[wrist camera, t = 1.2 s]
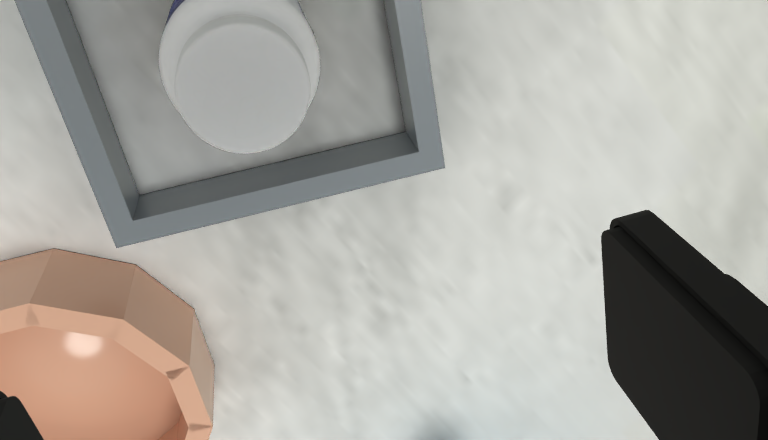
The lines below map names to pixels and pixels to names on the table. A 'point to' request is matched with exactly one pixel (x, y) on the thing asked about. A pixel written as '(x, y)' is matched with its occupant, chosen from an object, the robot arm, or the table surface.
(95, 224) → the table surface
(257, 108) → the pill bottle
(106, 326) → the bowl
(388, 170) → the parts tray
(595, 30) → the table surface
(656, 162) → the table surface
